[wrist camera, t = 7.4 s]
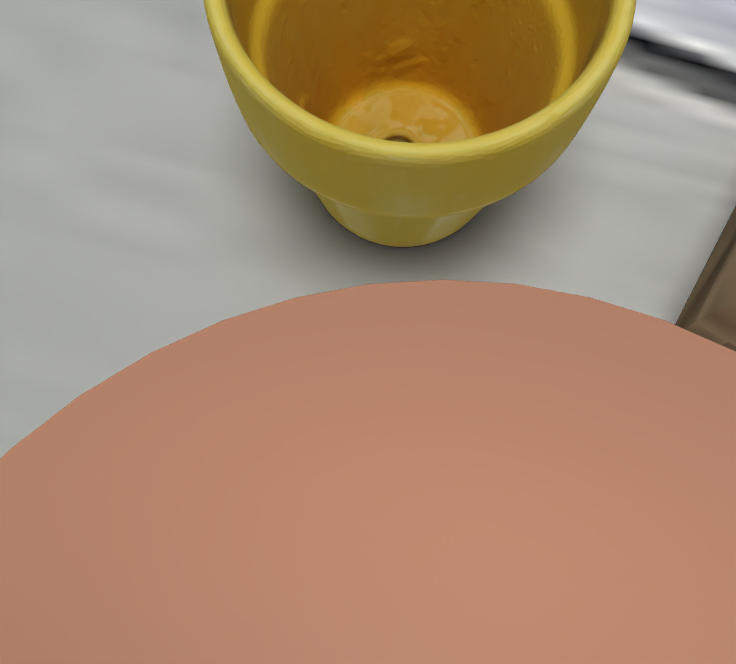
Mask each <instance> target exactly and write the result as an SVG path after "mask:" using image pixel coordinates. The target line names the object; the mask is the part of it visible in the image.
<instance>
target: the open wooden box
mask: <svg viewBox="0 0 736 664" xmlns="http://www.w3.org/2000/svg"><path fill="white" fill-rule="evenodd" d="M676 326H678V327H681V328H683V329H685V330H687V331H690V332H692V333H694V334H697V335H699V336H701V337H703V338H706V339H708V340H710V341H713V342H715V343H717V344H719V345H722V346H724V347H726V348H729V349H731V350H733V351H736V207H735V209H734V211H733V212H732V214H731V216H730V218H729V220H728V222H727V224H726V226H725V228H724V230H723V232H722V234H721V236H720V238H719V240H718V242H717V244H716V246H715V248H714V250H713V252H712V254H711V256H710V258H709V260H708V262H707V264H706V266H705V268H704V270H703V272H702V274H701V275H700V277H699V279H698V281H697V283H696V285H695V287H694V289H693V291H692V293H691V295H690V297H689V299H688V301H687V303H686V305H685V307H684V309H683V311H682V313H681V315H680V317H679V319H678V321H677V323H676Z"/></svg>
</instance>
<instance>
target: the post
mask: <svg viewBox="0 0 736 664" xmlns="http://www.w3.org/2000/svg"><path fill="white" fill-rule="evenodd" d="M0 664H736V351H733V350H731V349H729V348H726V347H724V346H722V345H719V344H717V343H715V342H713V341H710V340H708V339H706V338H703V337H701V336H699V335H697V334H694V333H692V332H690V331H687V330H685V329H683V328H681V327H678V326H676V325H674V324H671V323H669V322H667V321H665V320H662V319H658V318H655V317H652V316H649V315H645V314H642V313H639V312H636V311H632V310H629V309H626V308H623V307H619V306H616V305H613V304H610V303H606V302H603V301H600V300H596V299H593V298H590V297H584V296H579V295H573V294H568V293H562V292H557V291H551V290H546V289H540V288H535V287H529V286H524V285H518V284H506V283H489V282H473V281H456V280H429V281H413V282H396V283H380V284H367V285H362V286H356V287H351V288H345V289H340V290H335V291H329V292H324V293H318V294H313V295H308V296H302V297H297V298H293V299H290V300H287V301H283V302H280V303H277V304H274V305H271V306H267V307H264V308H261V309H258V310H255V311H252V312H248V313H245V314H242V315H239V316H236V317H232V318H229V319H226V320H223V321H221V322H218V323H216V324H214V325H212V326H209V327H207V328H205V329H203V330H201V331H198V332H196V333H194V334H192V335H190V336H187V337H185V338H183V339H181V340H178V341H176V342H174V343H172V344H170V345H167V346H165V347H163V348H161V349H159V350H156V351H154V352H152V353H150V354H148V355H147V356H145V357H143V358H142V359H140V360H138V361H137V362H135V363H133V364H132V365H130V366H128V367H127V368H125V369H123V370H122V371H120V372H118V373H117V374H115V375H113V376H112V377H110V378H108V379H107V380H105V381H103V382H102V383H100V384H98V385H97V386H95V387H93V388H92V389H90V390H88V391H87V392H85V393H83V394H82V395H80V396H79V397H77V398H76V399H75V400H73V401H72V402H71V403H70V404H68V405H67V406H66V407H64V408H63V409H62V410H60V411H59V412H58V413H57V414H55V415H54V416H53V417H51V418H50V419H49V420H48V421H46V422H45V423H44V424H42V425H41V426H40V427H38V428H37V429H36V430H35V431H33V432H32V433H31V434H29V435H28V436H27V437H25V438H24V439H23V440H22V441H20V442H19V443H18V444H16V445H15V446H14V447H12V448H11V449H10V450H9V451H8V452H7V453H6V454H5V455H4V456H3V457H2V458H1V459H0Z"/></svg>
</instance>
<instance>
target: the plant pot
mask: <svg viewBox="0 0 736 664" xmlns="http://www.w3.org/2000/svg"><path fill="white" fill-rule="evenodd" d="M204 5H205V10H206V15H207V20H208V24H209V27H210V30H211V33H212V37H213V40H214V43H215V46H216V49H217V52H218V55H219V58H220V61H221V64H222V67H223V70H224V72H225V75H226V78H227V81H228V83H229V86H230V88H231V91H232V93H233V95H234V98H235V100H236V102H237V105H238V107H239V109H240V111H241V113H242V115H243V117H244V119H245V121H246V123H247V125H248V127H249V129H250V130H251V132H252V133H253V135H254V136H255V138H256V140H257V141H258V142H259V144H260V145H261V146H262V147H263V149H264V150H265V151H266V152H267V153H268V155H269V156H270V157H271V158H272V159H273V160H274V161H275V162H276V163H277V164H278V165H279V166H280V167H281V168H282V169H283V170H284V171H285V172H287V173H288V174H289V175H290V176H292V177H293V178H294V179H296V180H297V181H298V182H299V183H301V184H302V185H304V186H306V187H307V188H309V189H310V190H312V191H314V192H315V193H316V194H317V195H318V197H319V199H320V200H321V202H322V203H323V205H324V206H325V207H326V209H327V210H328V212H329V213H330V214H331V215H332V216H333V217H334V218H335V220H336V221H338V222H339V223H340V224H341V225H342V226H344V227H345V228H346V229H348V230H349V231H351V232H352V233H354V234H356V235H357V236H359V237H361V238H363V239H366V240H369V241H371V242H374V243H378V244H382V245H387V246H395V247H412V246H420V245H426V244H429V243H432V242H436V241H438V240H441V239H443V238H445V237H447V236H449V235H451V234H453V233H454V232H456V231H457V230H459V229H460V228H461V227H463V226H464V225H465V224H466V223H467V222H469V221H470V220H471V219H472V218H473V217H474V216H475V215H476V214H477V213H478V212H479V211H480V210H481V209H482V208H483V207H484V206H487V205H490V204H492V203H495V202H497V201H499V200H501V199H504V198H506V197H508V196H510V195H511V194H513V193H515V192H517V191H518V190H520V189H521V188H523V187H525V186H526V185H528V184H529V183H531V182H532V181H534V180H535V179H536V178H537V177H538V176H540V175H541V174H542V173H543V172H544V171H546V170H547V169H548V168H549V167H550V166H551V165H552V164H553V163H554V162H555V161H556V160H557V159H558V158H559V156H560V155H561V154H562V153H563V152H564V151H565V149H566V148H567V146H568V145H569V144H570V142H571V141H572V140H573V138H574V137H575V135H576V134H577V133H578V131H579V130H580V128H581V127H582V125H583V123H584V122H585V120H586V119H587V117H588V115H589V114H590V112H591V111H592V109H593V107H594V106H595V104H596V102H597V100H598V99H599V97H600V95H601V94H602V92H603V90H604V88H605V86H606V85H607V83H608V81H609V79H610V77H611V75H612V73H613V71H614V69H615V67H616V65H617V63H618V61H619V59H620V57H621V55H622V53H623V50H624V48H625V45H626V43H627V41H628V37H629V34H630V31H631V28H632V24H633V18H634V13H635V7H636V0H204Z"/></svg>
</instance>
